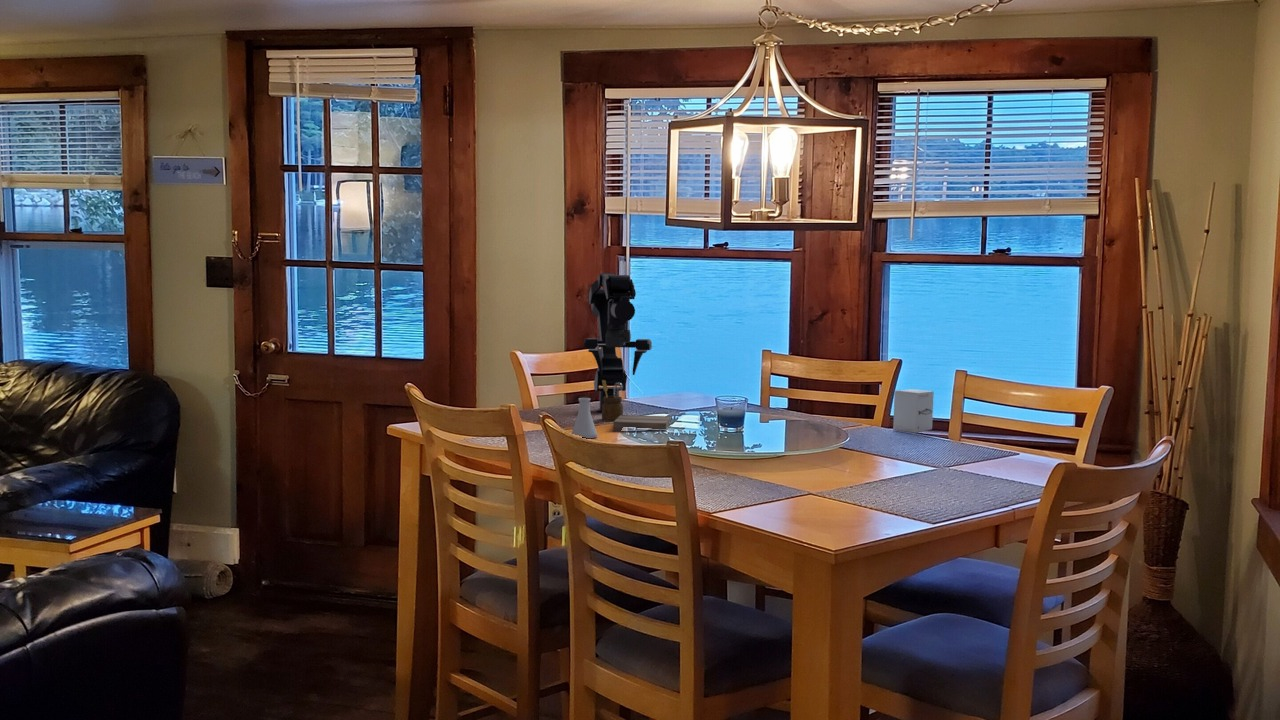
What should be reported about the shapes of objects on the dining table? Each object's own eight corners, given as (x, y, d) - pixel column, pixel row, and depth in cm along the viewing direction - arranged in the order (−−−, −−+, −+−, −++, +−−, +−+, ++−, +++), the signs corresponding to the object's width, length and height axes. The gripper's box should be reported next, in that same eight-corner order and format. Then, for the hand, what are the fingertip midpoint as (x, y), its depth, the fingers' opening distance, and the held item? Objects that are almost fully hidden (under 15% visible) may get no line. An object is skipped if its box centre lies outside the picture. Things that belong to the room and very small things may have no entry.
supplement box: (916, 442, 291) (917, 392, 290) (892, 438, 297) (893, 390, 296) (932, 439, 296) (934, 390, 295) (909, 435, 302) (910, 388, 301)
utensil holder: (627, 422, 321) (627, 379, 320) (609, 423, 318) (609, 380, 316) (614, 419, 326) (614, 377, 325) (596, 421, 322) (597, 379, 321)
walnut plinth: (620, 423, 318) (620, 414, 318) (670, 425, 316) (670, 416, 316) (613, 431, 304) (613, 421, 304) (665, 432, 302) (665, 423, 302)
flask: (567, 435, 296) (567, 397, 295) (594, 434, 298) (594, 396, 297) (573, 439, 289) (573, 400, 288) (601, 438, 291) (601, 399, 290)
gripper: (580, 320, 316) (580, 376, 317) (647, 321, 313) (647, 378, 315) (587, 318, 327) (586, 372, 328) (652, 319, 324) (651, 374, 326)
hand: (617, 374), depth 324 cm, fingers open, 9 cm apart
